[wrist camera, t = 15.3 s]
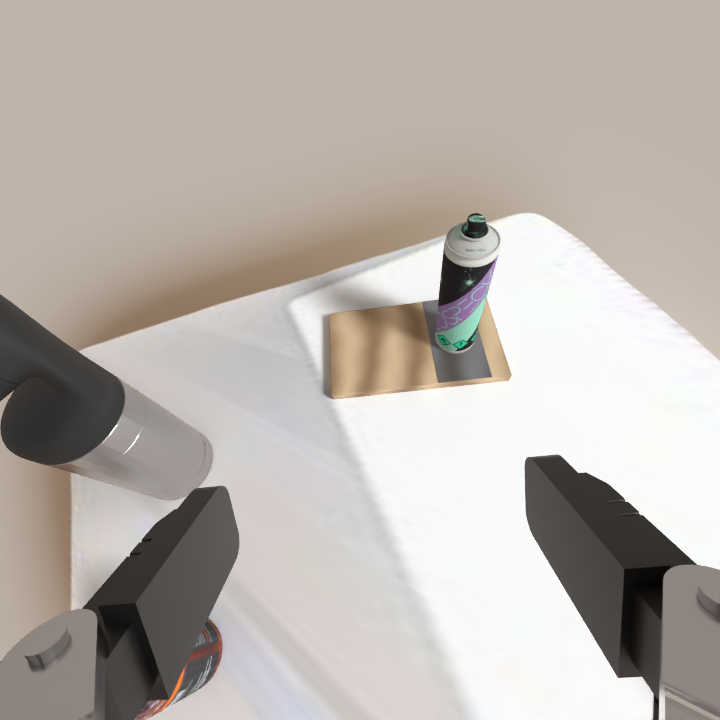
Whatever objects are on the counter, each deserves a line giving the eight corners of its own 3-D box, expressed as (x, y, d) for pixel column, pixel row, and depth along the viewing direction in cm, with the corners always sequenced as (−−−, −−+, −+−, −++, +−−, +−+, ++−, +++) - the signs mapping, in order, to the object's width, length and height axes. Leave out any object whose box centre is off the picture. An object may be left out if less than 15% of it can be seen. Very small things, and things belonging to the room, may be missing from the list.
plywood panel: (333, 399, 50) (331, 394, 48) (331, 319, 57) (329, 313, 56) (508, 380, 48) (511, 374, 47) (483, 300, 55) (485, 294, 54)
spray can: (426, 335, 51) (435, 217, 34) (456, 315, 53) (477, 192, 35) (452, 360, 49) (475, 247, 32) (482, 340, 50) (520, 219, 33)
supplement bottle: (183, 611, 39) (108, 624, 29) (233, 624, 38) (172, 642, 28) (158, 682, 36) (66, 722, 26) (211, 699, 35) (135, 747, 25)
